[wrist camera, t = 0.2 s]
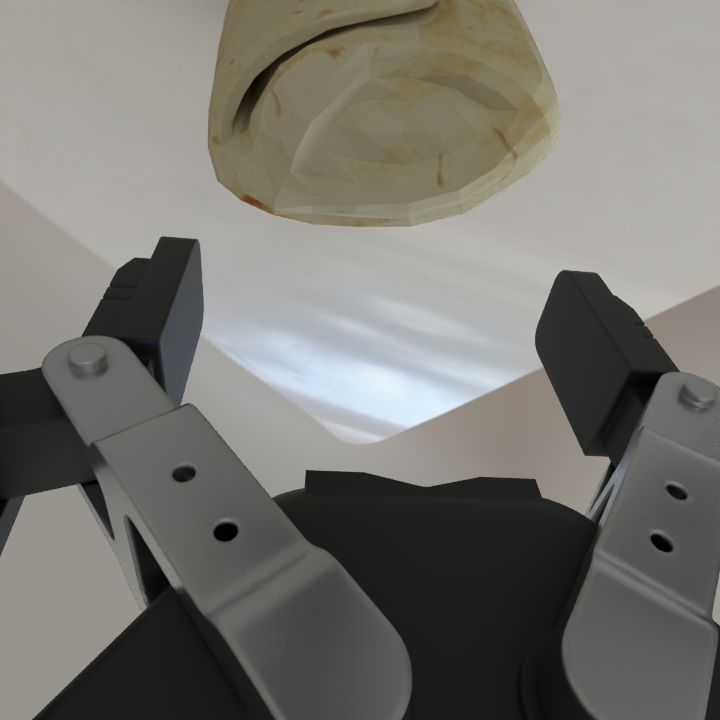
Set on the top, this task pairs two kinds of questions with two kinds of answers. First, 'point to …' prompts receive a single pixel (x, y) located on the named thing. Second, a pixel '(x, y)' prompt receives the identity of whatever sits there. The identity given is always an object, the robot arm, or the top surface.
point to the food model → (377, 107)
